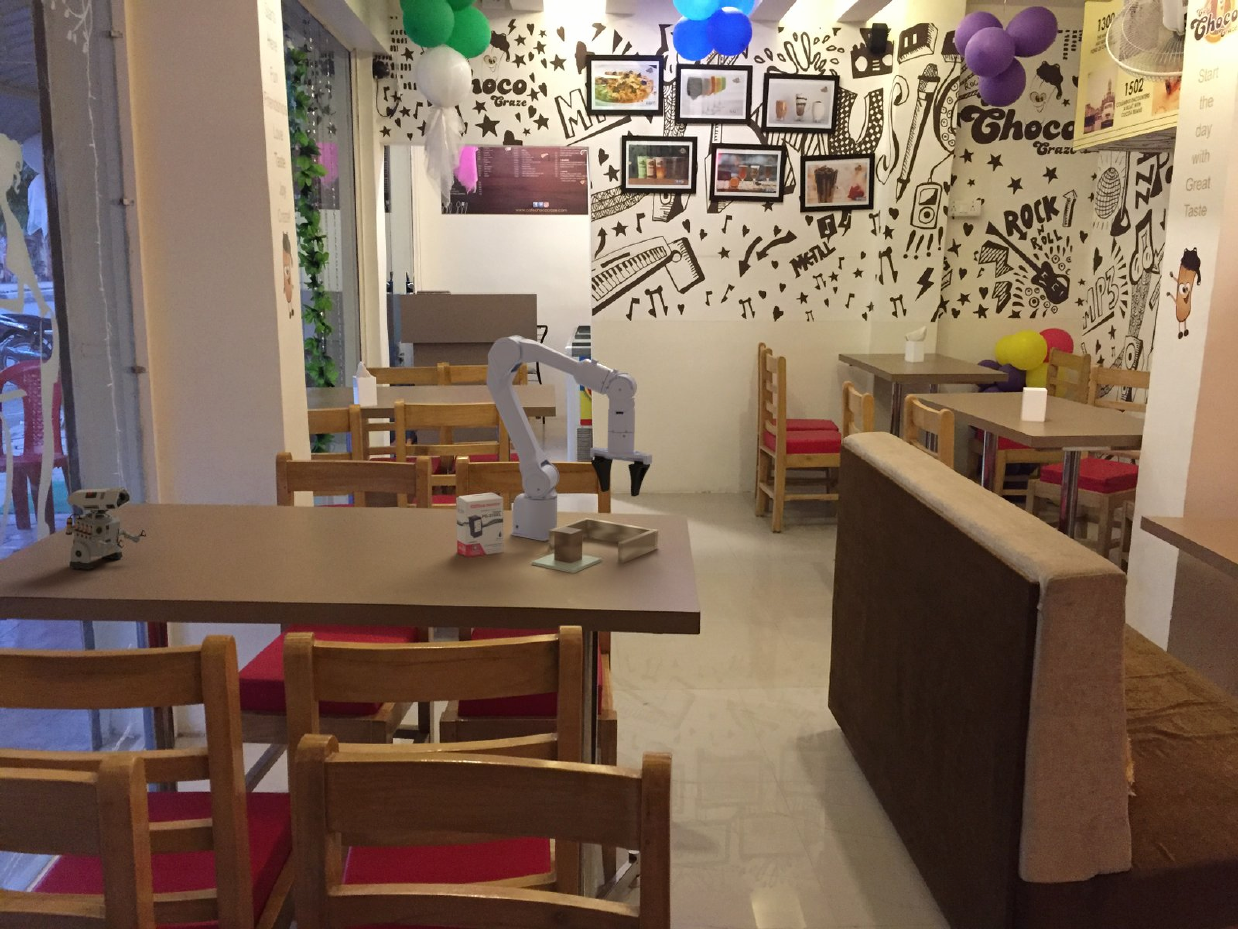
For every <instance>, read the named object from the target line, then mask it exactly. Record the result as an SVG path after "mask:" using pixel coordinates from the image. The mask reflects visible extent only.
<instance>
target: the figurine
mask: <svg viewBox="0 0 1238 929" xmlns="http://www.w3.org/2000/svg"><path fill="white" fill-rule="evenodd" d="M66 502H67V504H68V506H75V505H76V506H77V507H78V508H79V509H81V510H82V511H89V512H88V513H87V512H86V513H84V514H80V515H79V514H77V513H72V514H71V515H70V516H68V517H67V518H66V528H65V529H66V530H65V535H66V536H72V535H74V536H73V541H72V546H71V550H70V561H69V567H70V568H72V569H73V570H75V569H76V570H79V569H81V570H82V571H84V570H85V571H88V570H91V569H93V568H94V567H95V566H94V563H93V561H92V557H94V558H95V557H96V558H97V557H98V558H99V557H100V558H102V559H103V560H104V559H106V560H108V559H109V560H110V559H111V560H116V561H118V560H121V559H122V558H123V552H122V550H121V549H123V547H124V545H125V544H123V545H121V544H120V543H121V542H122V543H124V541H123V540H122V539H120V536H122V535H123V538H124V539H125V540H130V541H132V542H133V543H135V544H137V543H139V542H140V539H141V537H147V533H146V531H145V530H144V529H142V530H141V532H140V533H139V534H138V535H134V534H131V532H129V531H126V530H125V528H123V527H121V519H120V517H119V516H117V515H112V514H111V513H108V511H110V510H119V509H121V508H122V507H125V506H126V505H128V504H129V503H131V494H130V492H129V491H127V489H126V488H125V487H115V488H114V487H110V488H108V487H107V488H89V489H87V488H86V489H77V490H76V491H74V492H72V493H70V495H69V496H67V498H66ZM74 515H75V522H73V521H74V520H73V519H74V518H73V517H72V516H74ZM73 523H74V525H73ZM73 533H74V534H73ZM143 533H144V534H143Z"/></svg>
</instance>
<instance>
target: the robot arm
mask: <svg viewBox="0 0 1238 929" xmlns="http://www.w3.org/2000/svg"><path fill="white" fill-rule="evenodd" d="M487 360H488V361H487V363H488V364H487V370H486V371H487V372H486V386H487V388H488V392H489V393H490V395H491V399H492V400H493V402H494V405H495V406H496V409H497V411H498V414H499V416H500V419H501V420H502V423H503V425H504V428H505V429H506V432H507V434H508V437H509V439H510V442H511V444H512V446H513V449H514V450H515V452H516V455H517V457H518V460H519V461H518V462H519V465H518V466H519V471H520V475H521V478H522V479H521V485H522V489H523V491H524V493H520V494H518V495H516V497H515V499H514V501H513V504H512V532H510V536H515V537H521V538H525V539H532V540H537V541H542V542H546V541H549V530H551V529H554V528H557V527H558V493H557V491H556V488H555V487H556V486H557V485H558V484H559V480H560V474H559V470H558V468H557V467H556V466H555V465H554V464H553V463H551V461H550V460H549V458H548V455H547V454H546V453H545V452H544V451H543V450H542V449H541V447H540V445H539V442H538V439H537V438H536V435H535V433H534V431H533V429H532V426H531V423H530V421H529V420H528V417H527V414H526V412H525V410H524V407H523V405H522V403H521V401H520V399H519V396H518V394H517V392H516V389H515V387H514V384H513V382H514V379H515V377H516V375H517V373H518V370H519V369H520V368H521V367H522V365H524V364H530V363H531V364H532V363H540V364H542V365H546V366H548V367H551V368H554V369H556V370H558V371H561V372H564V373H566V374H569V375H572V376H573V378H574V381H575V383H576V384H577V385H579V386H582V387H584V388H586V389H589V390H591V391H592V392H596V393H598V394H601V395H603V396H604V395H606V397H607V398H608V410H607V447H596V446H595V447H594V446H593V447H591V448H589V450H590V451H589V453H590V454H589V458H593V459H592V460H591V461H590V462H591V465H592V467H593V469H594V470H595V473H596V476H597V479H598V482H599V485H600V490H601V492H603V493H605V492H607V491H610V485H611V484H610V483H611V470H612V464H613V461H614V460H615V461H623V462H631V463H630V464H628V471H629V476H630V496H631V497H638V496H639V495H640V491H641V488H642V485H643V482H644V478H645V476H646V474H647V472H648V471H649V468H650V467H651V464H652V463H653V454H651V453H646V452H642V451H638V450H635V432H636V431H635V430H636V429H635V428H636V427H635V425H636V409H635V405H636V404H635V397H634V396H635V394H636V393H637V389H638V384H637V381H636V380H635V378H634V377H633V376H632V375H630V374H628V373H627V372H620V370H619V369H617V368H614V369H612V368H610V367H607V366H605V365H604V364H603V365H602V364H600V363H599V360H598V359H597V358H595V357H594V358H591V359H589V358H585V359H582V360H580V361H578V360H576V359H575V358H573V357H570V356H568V355H567V354H564V353H562V352H560V351H558V350H556V349H553V348H552V347H550V346H547V345H545V344H543V343H542V342H539V341H536V340H533V339H530V338H525V337H523V336H520V335H519V334H518V335H517V334H516V335H511V336H508V337H506V336H505V337H500V338H498V339H497V340H495V341H494V343H493V344H492V346H491V348H490V350H489V351H488V353H487ZM619 372H620V373H619Z"/></svg>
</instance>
